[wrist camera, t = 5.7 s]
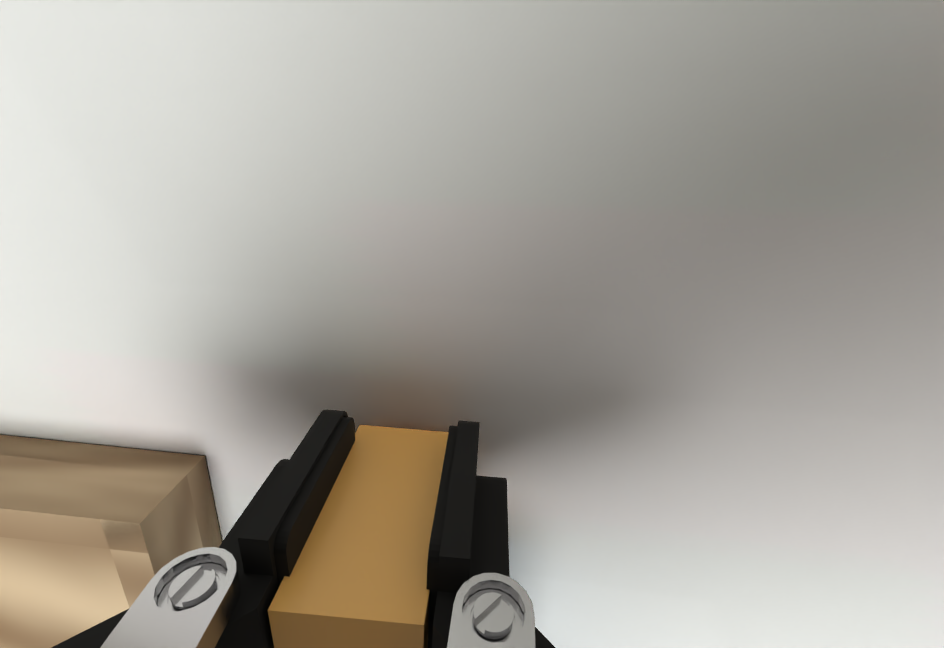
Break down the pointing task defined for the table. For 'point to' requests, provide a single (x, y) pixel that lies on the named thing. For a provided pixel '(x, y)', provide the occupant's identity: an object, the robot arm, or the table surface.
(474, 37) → the table surface
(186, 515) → the tray
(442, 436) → the blue orange-capped square bottle
